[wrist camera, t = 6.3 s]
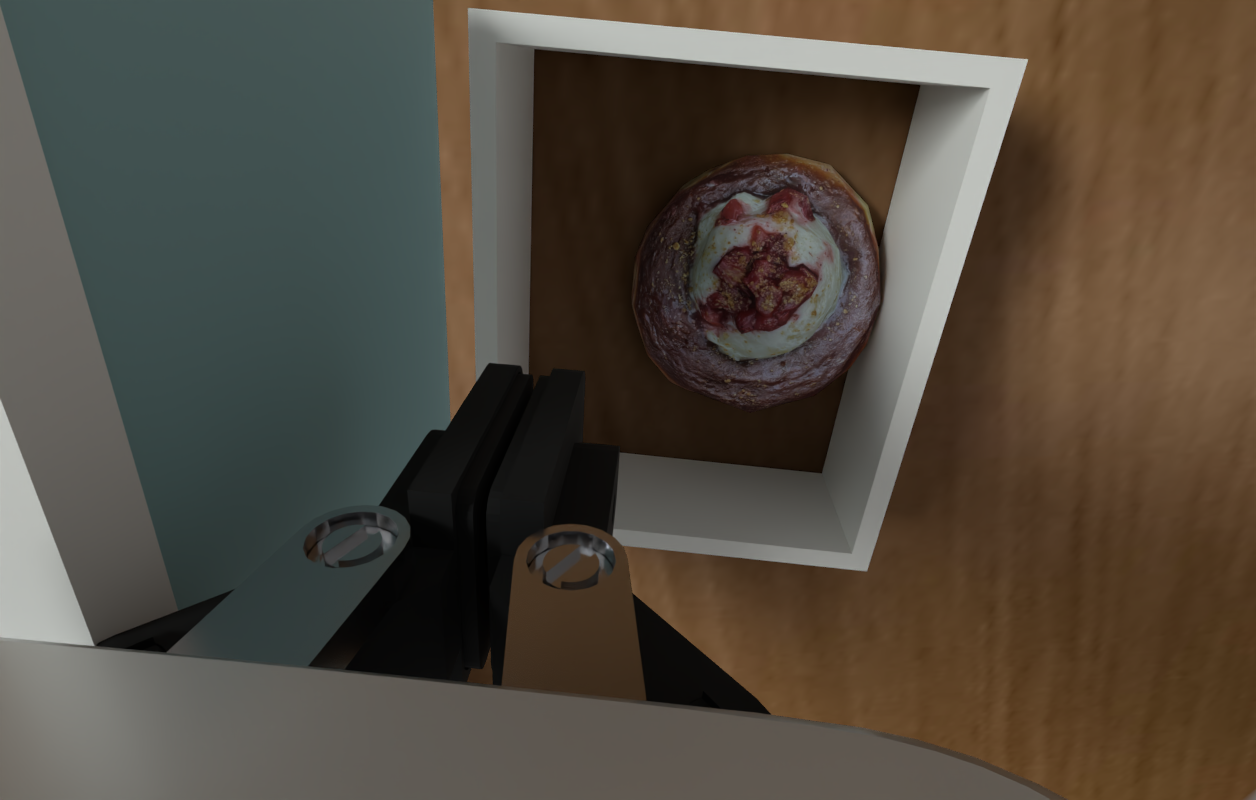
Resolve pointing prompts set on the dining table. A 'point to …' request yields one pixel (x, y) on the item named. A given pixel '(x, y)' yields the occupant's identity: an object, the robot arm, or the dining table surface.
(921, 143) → the box
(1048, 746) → the dining table surface
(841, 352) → the pastry
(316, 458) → the lid
